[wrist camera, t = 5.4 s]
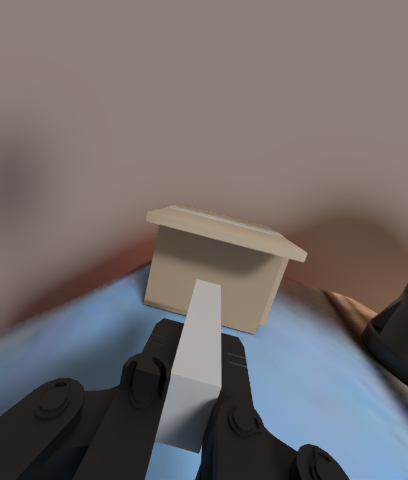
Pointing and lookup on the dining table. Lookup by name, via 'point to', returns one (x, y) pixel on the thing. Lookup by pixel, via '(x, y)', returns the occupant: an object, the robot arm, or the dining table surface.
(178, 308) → the carton
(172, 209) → the flap
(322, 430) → the dining table surface
